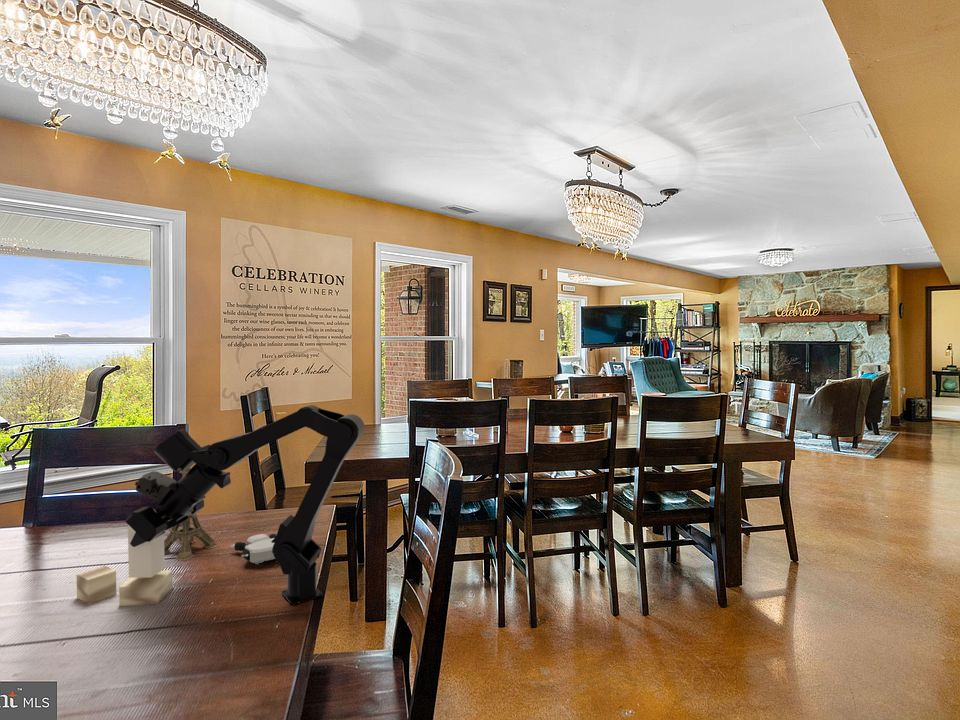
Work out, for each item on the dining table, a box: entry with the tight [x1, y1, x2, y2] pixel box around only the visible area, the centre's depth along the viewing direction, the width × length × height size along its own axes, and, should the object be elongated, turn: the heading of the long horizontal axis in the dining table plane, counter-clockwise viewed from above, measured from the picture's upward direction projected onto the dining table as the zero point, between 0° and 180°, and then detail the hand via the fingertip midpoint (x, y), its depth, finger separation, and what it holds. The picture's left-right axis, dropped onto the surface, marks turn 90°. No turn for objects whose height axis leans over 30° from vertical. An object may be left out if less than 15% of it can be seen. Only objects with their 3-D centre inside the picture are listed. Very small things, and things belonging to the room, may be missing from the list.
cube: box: [75, 565, 117, 605], centre depth 107 cm, size 5×5×5 cm
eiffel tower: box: [164, 467, 218, 562], centre depth 131 cm, size 11×11×25 cm
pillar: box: [127, 524, 166, 579], centre depth 107 cm, size 4×4×12 cm
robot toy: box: [230, 533, 277, 565], centre depth 128 cm, size 12×4×15 cm
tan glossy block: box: [118, 569, 173, 607], centre depth 107 cm, size 7×7×4 cm
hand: (139, 540), depth 107 cm, fingers closed on pillar, 4 cm apart
